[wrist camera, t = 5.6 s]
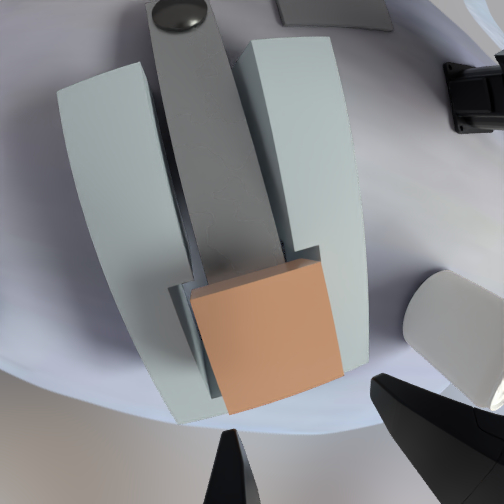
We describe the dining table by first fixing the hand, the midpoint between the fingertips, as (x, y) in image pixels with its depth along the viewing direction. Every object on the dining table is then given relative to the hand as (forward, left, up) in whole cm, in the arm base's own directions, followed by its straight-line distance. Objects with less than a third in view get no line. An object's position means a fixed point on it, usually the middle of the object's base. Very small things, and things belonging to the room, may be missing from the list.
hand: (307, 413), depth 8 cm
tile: (0, 0, -6) cm, 6 cm away
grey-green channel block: (0, -3, -12) cm, 13 cm away
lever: (0, -7, -9) cm, 11 cm away
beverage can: (-17, +9, -13) cm, 23 cm away
